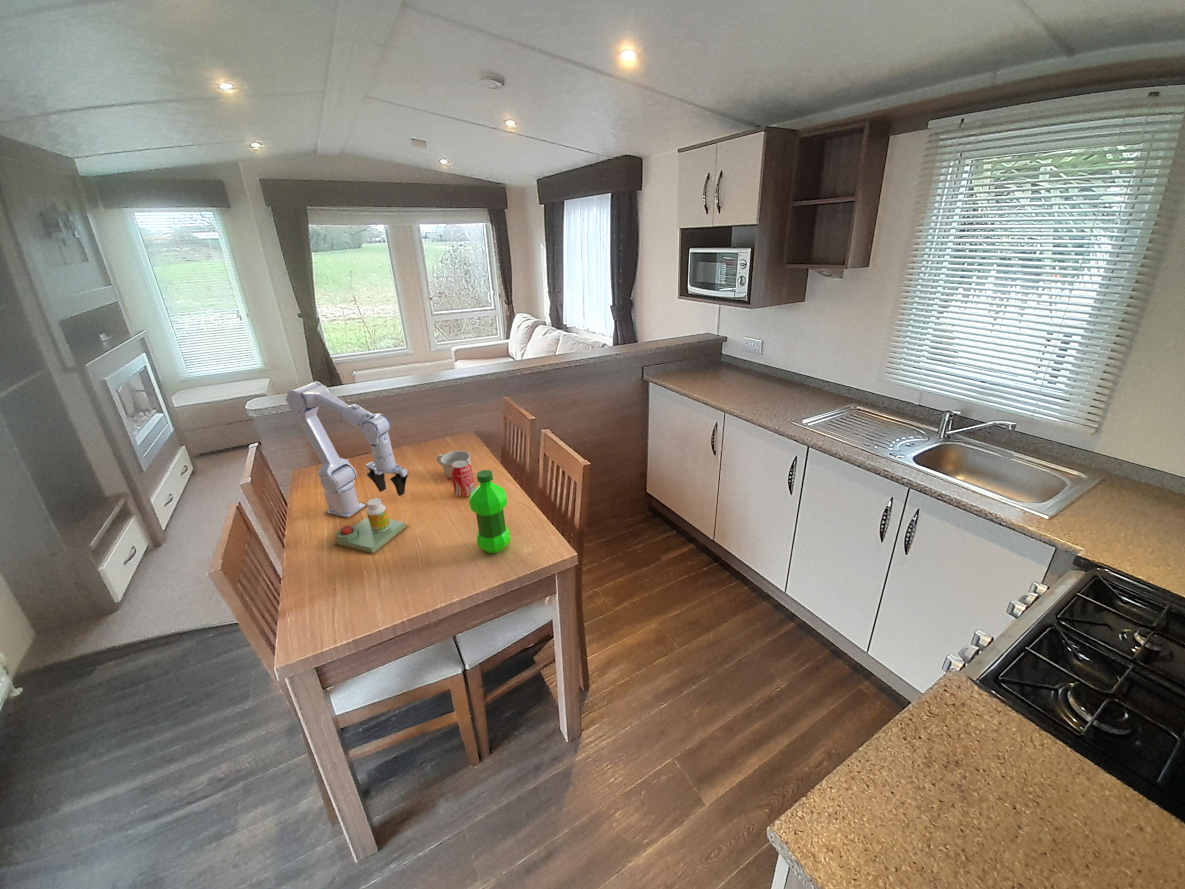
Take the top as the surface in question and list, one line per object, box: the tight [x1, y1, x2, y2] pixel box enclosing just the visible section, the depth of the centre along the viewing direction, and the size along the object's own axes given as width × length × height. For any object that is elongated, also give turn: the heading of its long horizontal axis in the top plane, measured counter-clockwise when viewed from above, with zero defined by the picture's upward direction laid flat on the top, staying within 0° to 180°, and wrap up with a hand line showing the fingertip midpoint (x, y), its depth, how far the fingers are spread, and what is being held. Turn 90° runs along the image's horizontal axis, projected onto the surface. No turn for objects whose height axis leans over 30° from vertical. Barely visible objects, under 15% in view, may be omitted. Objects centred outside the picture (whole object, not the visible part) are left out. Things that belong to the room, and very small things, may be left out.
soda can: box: [451, 460, 475, 498], centre depth 167 cm, size 7×7×12 cm
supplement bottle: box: [366, 497, 390, 532], centre depth 146 cm, size 5×5×10 cm
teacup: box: [436, 450, 472, 479], centre depth 182 cm, size 14×11×8 cm
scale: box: [335, 516, 406, 554], centre depth 147 cm, size 14×14×4 cm
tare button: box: [340, 525, 353, 535], centre depth 144 cm, size 3×3×2 cm
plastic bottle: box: [469, 469, 511, 554], centre depth 135 cm, size 10×10×25 cm
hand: (392, 492), depth 151 cm, fingers open, 7 cm apart
